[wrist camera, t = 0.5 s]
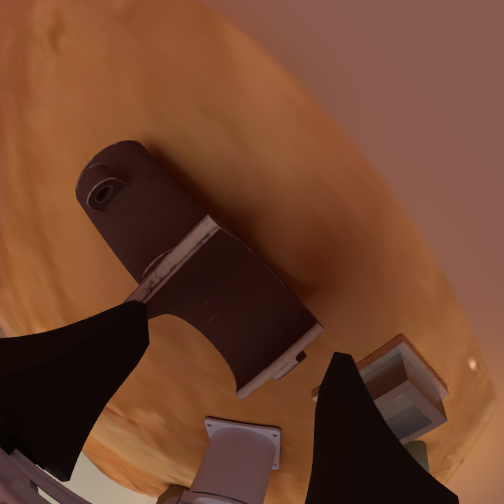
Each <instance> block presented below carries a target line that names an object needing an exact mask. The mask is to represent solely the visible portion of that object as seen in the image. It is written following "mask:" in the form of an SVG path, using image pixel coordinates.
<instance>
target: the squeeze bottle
mask: <svg viewBox="0 0 504 504" xmlns="http://www.w3.org/2000/svg"><path fill="white" fill-rule="evenodd" d="M185 490H186V491H189V489H186V488H184V487H180V486H175V485H172V486H170V487H169V488H168V489H167V490H166V491H165V492H164V493H163V494H162V495H161V496H159V497H158V501H157V503H156V504H164V503H165V502H166V501H167V500H168V499H169V498H172V497H174V496H180V497H182V495H183V493H184V491H185Z"/></svg>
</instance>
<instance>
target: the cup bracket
mask: <svg viewBox="0 0 504 504" xmlns="http://www.w3.org/2000/svg"><path fill="white" fill-rule="evenodd" d="M356 366H357V369H358V371H359V373H360V375H361V377H362V379H363V381H364V383H365V385H366V387H367V389H368V391H369V393H370V395H371V397H372V399H373V401H374V403H375V404H376V406H377V408H378V410H379V411H380V413H381V415H382V416H383V418H384V420H385V421H386V423H387V424H388V426H389V427H390V429H391V430H392V431H393V433H394V434H395V436H396V437H397V438H398V440H399V441H400V442H401V444H402V445H404V444H406V443H408V442H410V441H412V440H414V439H416V438H418V437H420V436H422V435H423V434H425V433H427V432H429V431H431V430H433V429H434V428H436V427H438V426H440V425H441V424H443V423H445V422H446V421H448V420H447V416H446V413H445V409H444V406H443V403H442V399H444V398H445V397H447V396H448V395H450V394H449V391H448V388H447V386H446V385H445V384H444V383H443V382H442V380H441V379H440V378H439V377H438V376H437V374H436V373H435V372H434V371H433V370H432V369H431V367H430V366H429V365H428V364H427V363H426V361H425V360H424V359H423V358H422V357H421V356H420V355H419V353H418V352H417V351H416V350H415V349H414V348H413V346H412V345H411V344H410V343H409V342H408V341H407V340H406V339H405V337H404V336H403V335H402V334H400V335H398V336H397V337H396V338H394V339H393V340H391V341H390V342H389V343H387V344H386V345H384V346H383V347H382V348H380V349H379V350H377V351H376V352H374V353H373V354H371V355H370V356H368V357H367V358H365V359H364V360H362V361H361V362H359V363H357V364H356ZM319 388H320V386H319V387H318V388H316V389H314V390H312V399H313V400H314V401H315V402H317V398H318V391H319Z"/></svg>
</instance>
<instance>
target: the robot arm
mask: <svg viewBox="0 0 504 504" xmlns="http://www.w3.org/2000/svg"><path fill="white" fill-rule="evenodd" d="M148 345H149V331H148V317H147V304H146V303H143V302H140V301H137V300H131V301H128V302H126V303H123V304H121V305H118V306H116V307H113V308H111V309H109V310H106V311H104V312H101V313H99V314H97V315H94V316H92V317H89V318H87V319H84V320H81V321H78V322H76V323H73V324H70V325H67V326H64V327H61V328H58V329H54V330H50V331H46V332H42V333H37V334H32V335H26V336H20V337H10V338H0V504H51V503H50V502H49V501H47V500H46V499H44V498H43V497H42V496H41V495H39V493H38V488H37V487H39V488H40V489H41V490H43V491H44V492H45V493H46V494H48V495H49V496H51V497H52V498H53V499H55V500H56V501H57V502H59V503H60V504H92V503H90V502H88V501H86V500H85V499H83V498H82V497H80V496H78V495H77V494H75V493H74V492H72V491H71V490H69V489H68V488H66V487H65V486H63V485H62V484H60V483H59V482H57V481H56V480H55V479H53V478H52V477H51V476H49V475H48V474H46V473H45V472H44V471H43V470H46V471H47V472H49V473H50V474H51V475H53V476H54V477H56V478H57V479H58V480H60V481H61V482H66V481H70V478H71V475H72V472H73V469H74V467H75V464H76V462H77V459H78V457H79V454H80V452H81V450H82V448H83V446H84V444H85V441H86V439H87V437H88V435H89V434H90V432H91V430H92V428H93V426H94V424H95V422H96V421H97V419H98V417H99V415H100V414H101V412H102V410H103V409H104V407H105V406H106V404H107V403H108V401H109V400H110V399H111V397H112V396H113V395H114V394H115V392H116V391H117V390H118V388H119V387H120V386H121V385H122V383H123V382H124V381H125V380H126V378H127V377H128V376H129V374H130V373H131V372H132V371H133V369H134V368H135V367H136V365H137V364H138V363H139V361H140V359H141V358H142V356H143V354H144V353H145V351H146V349H147V347H148ZM204 422H205V426H206V429H207V432H208V436H209V439H210V443H209V445H208V447H207V450H206V452H205V455H204V457H203V459H202V462H201V464H200V466H199V469H198V471H197V473H196V476H195V478H194V481H193V483H192V485H191V487H190V490H189V491H186V490H185V491H184V493H183V495H182V497H180V496H174V497H172V498H169V499H168V500H167V501H166V502H165V503H164V504H263V502H264V498H265V494H266V490H267V486H268V482H269V478H270V474H271V470H272V469H273V470H278V469H279V467H280V439H281V430H280V429H278V428H273V427H265V426H257V425H249V424H243V423H236V422H230V421H224V420H219V419H213V418H205V420H204ZM36 464H37V465H38V466H39V467H41V468H42V469H43V470H41V469H40V468H39V467H37V466H36ZM305 504H459V500H458V496H457V495H456V494H454V493H453V492H452V491H450V490H449V489H448V488H446V487H445V486H444V485H442V484H441V483H440V482H438V481H437V480H436V479H435V478H434V477H433V476H432V475H431V474H429V473H428V472H427V471H426V470H425V469H424V468H423V467H422V466H421V465H420V464H419V463H418V462H417V461H416V460H415V459H414V457H413V456H412V455H411V454H410V453H409V452H408V451H407V450H406V448H405V447H404V446H403V445H402V444H401V442H400V441H399V440H398V438H397V437H396V436H395V434H394V433H393V431H392V430H391V429H390V427H389V426H388V424H387V423H386V421H385V420H384V418H383V416H382V415H381V413H380V411H379V410H378V408H377V406H376V404H375V403H374V401H373V399H372V397H371V395H370V393H369V391H368V389H367V387H366V385H365V383H364V381H363V379H362V377H361V375H360V373H359V371H358V369H357V366H356V364H355V362H354V360H353V358H352V356H351V355H350V354H345V353H339V352H334V354H333V357H332V359H331V362H330V364H329V367H328V369H327V372H326V374H325V376H324V379H323V381H322V383H321V386H320V388H319V391H318V398H317V404H316V411H315V427H314V448H313V464H312V472H311V477H310V482H309V487H308V492H307V496H306V501H305Z"/></svg>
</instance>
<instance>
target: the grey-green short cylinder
mask: <svg viewBox="0 0 504 504" xmlns="http://www.w3.org/2000/svg"><path fill="white" fill-rule="evenodd" d="M403 446H404V447H405V448H406V450H407V451H408V452H409V453H410V454H411V455H412V456H413V457H414V459H415V460H416V461H417V462H418V463H419V464H420V465H421V466H422V467H423V468H424V469H425V470H426V471H427V472H428V473H429V474H430V472H429V465H428V458H427V452H426V446H425V443H424V442H422V441H411V442H408V443H406V444H404V445H403Z"/></svg>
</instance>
